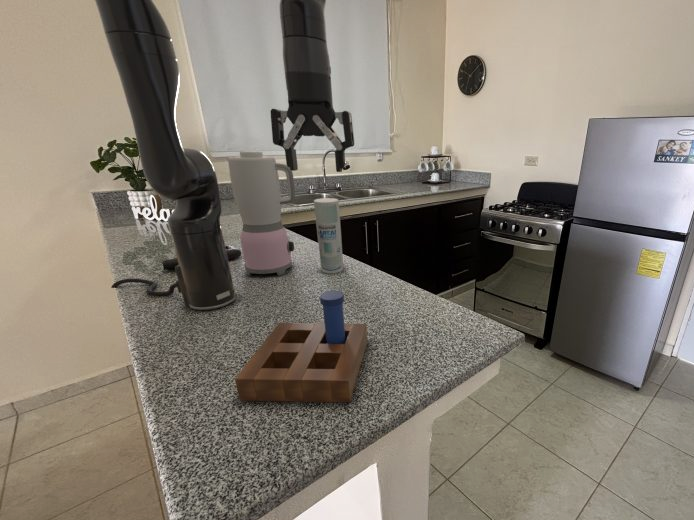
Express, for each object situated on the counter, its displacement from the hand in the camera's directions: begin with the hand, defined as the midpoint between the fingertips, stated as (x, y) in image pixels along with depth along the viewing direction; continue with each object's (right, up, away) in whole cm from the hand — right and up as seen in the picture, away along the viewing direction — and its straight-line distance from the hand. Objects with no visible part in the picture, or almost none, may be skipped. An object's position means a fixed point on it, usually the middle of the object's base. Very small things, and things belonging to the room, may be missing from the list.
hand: (317, 171), depth 66 cm
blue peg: (+5, -34, -4) cm, 35 cm away
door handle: (-48, -15, +41) cm, 65 cm away
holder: (+1, -35, -7) cm, 36 cm away
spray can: (-7, -18, +35) cm, 40 cm away
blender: (-23, -18, +34) cm, 45 cm away
